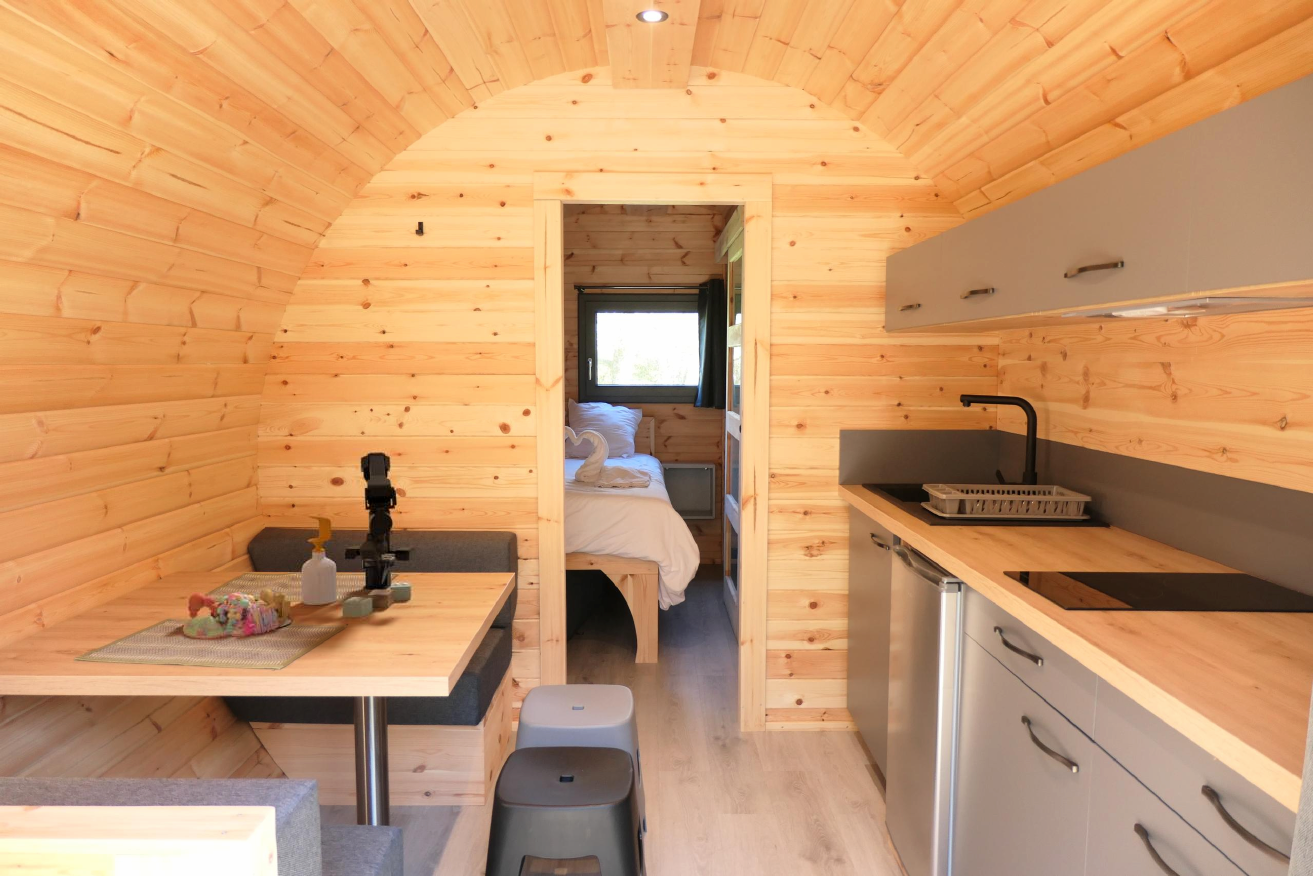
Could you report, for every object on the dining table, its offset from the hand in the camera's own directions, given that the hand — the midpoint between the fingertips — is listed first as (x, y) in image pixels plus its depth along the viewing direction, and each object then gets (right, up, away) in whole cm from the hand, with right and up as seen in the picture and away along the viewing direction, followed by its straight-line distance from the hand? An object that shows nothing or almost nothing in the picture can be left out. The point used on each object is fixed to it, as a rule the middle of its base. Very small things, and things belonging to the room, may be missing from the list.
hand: (380, 583), depth 233 cm
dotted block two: (+3, -6, +9) cm, 11 cm away
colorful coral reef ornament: (-30, -8, -18) cm, 36 cm away
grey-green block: (-4, -7, -8) cm, 11 cm away
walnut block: (0, -6, +1) cm, 7 cm away
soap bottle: (-19, -6, +4) cm, 20 cm away
